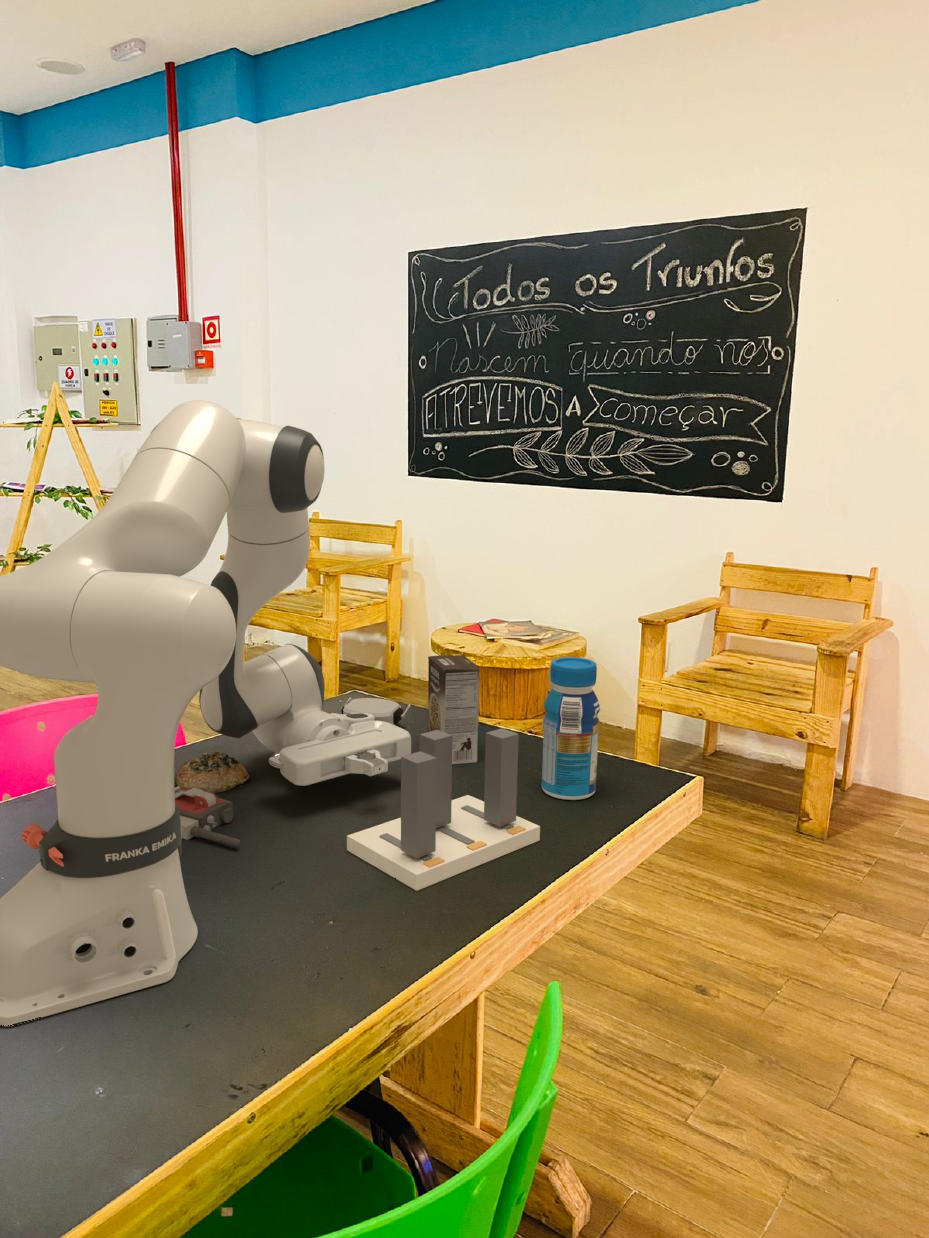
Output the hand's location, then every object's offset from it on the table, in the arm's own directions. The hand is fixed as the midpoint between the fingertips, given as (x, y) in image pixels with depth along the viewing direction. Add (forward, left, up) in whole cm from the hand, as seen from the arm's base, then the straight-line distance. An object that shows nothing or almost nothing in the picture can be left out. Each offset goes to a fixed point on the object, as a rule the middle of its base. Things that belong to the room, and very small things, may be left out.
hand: (379, 768), depth 128 cm
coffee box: (+24, +11, -7) cm, 27 cm away
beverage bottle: (+27, -12, -7) cm, 30 cm away
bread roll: (-12, +26, -7) cm, 29 cm away
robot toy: (+20, +30, -7) cm, 37 cm away
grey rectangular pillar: (0, -12, -4) cm, 12 cm away
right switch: (+7, -17, -4) cm, 19 cm away
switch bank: (0, -14, -7) cm, 15 cm away
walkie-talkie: (-21, +12, -7) cm, 25 cm away
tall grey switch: (-7, -17, -4) cm, 19 cm away
